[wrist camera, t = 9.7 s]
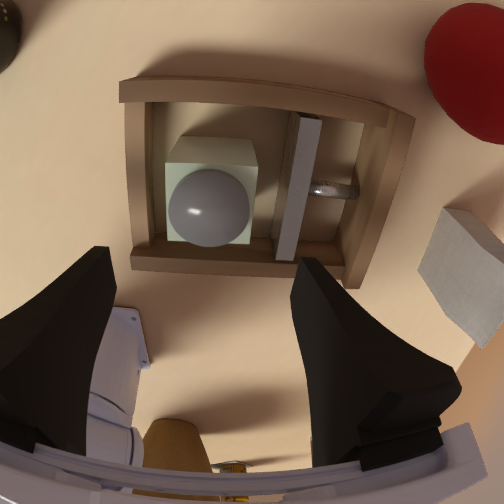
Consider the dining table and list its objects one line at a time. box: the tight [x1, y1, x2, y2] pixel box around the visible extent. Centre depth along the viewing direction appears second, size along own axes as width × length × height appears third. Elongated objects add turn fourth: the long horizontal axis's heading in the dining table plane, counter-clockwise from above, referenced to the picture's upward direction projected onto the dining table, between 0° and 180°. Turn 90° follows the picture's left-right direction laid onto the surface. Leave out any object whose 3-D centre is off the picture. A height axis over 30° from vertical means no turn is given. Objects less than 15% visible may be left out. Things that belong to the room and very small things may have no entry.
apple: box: [424, 3, 504, 145], centre depth 12 cm, size 9×9×10 cm
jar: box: [165, 136, 258, 247], centre depth 18 cm, size 4×4×6 cm
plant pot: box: [132, 419, 220, 501], centre depth 36 cm, size 15×15×16 cm
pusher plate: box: [270, 111, 358, 261], centre depth 20 cm, size 9×5×3 cm, turn 174°
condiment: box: [211, 461, 253, 502], centre depth 54 cm, size 7×8×12 cm
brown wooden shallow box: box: [119, 76, 416, 289], centre depth 19 cm, size 12×16×4 cm
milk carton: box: [417, 207, 504, 349], centre depth 21 cm, size 4×7×10 cm, turn 176°
